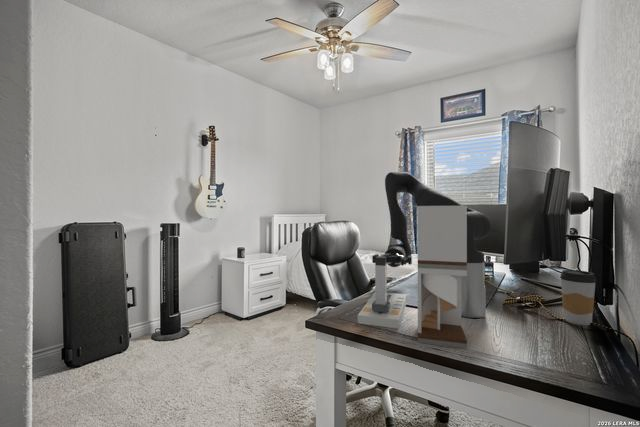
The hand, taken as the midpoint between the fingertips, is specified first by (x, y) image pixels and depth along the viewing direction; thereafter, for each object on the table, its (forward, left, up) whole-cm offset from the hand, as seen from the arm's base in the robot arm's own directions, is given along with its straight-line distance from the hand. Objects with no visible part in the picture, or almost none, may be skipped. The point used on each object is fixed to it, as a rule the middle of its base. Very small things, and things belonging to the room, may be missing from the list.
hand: (389, 262), depth 107 cm
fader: (+1, +14, -13) cm, 19 cm away
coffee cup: (-55, -4, -16) cm, 58 cm away
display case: (-16, +22, -16) cm, 32 cm away
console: (+1, +6, -16) cm, 17 cm away
